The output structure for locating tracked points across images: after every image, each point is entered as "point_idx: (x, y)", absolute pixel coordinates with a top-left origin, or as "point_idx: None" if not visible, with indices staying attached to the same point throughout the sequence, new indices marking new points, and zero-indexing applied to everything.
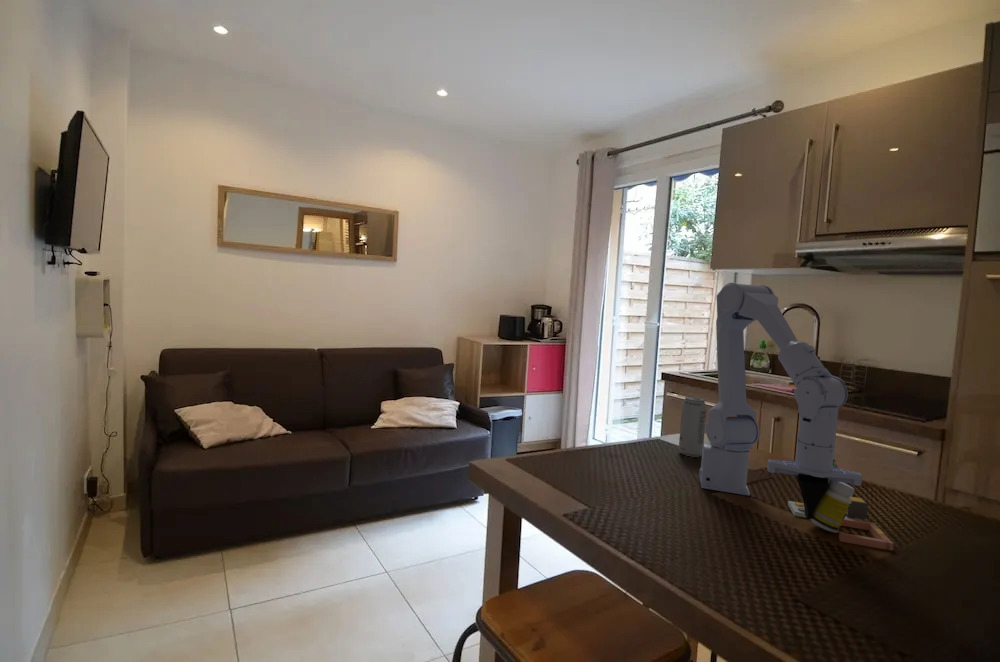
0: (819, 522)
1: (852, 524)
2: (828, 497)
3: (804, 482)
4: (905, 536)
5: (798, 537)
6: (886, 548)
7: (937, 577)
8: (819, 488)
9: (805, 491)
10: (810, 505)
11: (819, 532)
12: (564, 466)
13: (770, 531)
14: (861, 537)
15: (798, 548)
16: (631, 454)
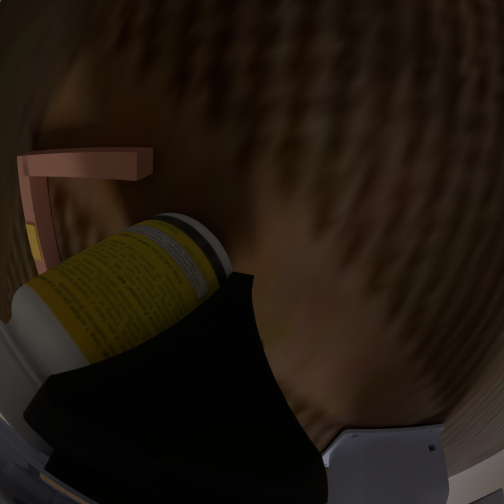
0: (203, 240)
1: None
2: (92, 337)
3: (293, 497)
4: (18, 269)
5: (347, 125)
6: (40, 150)
7: (16, 34)
8: (118, 408)
9: (271, 400)
10: (232, 313)
11: (214, 221)
12: None
13: (450, 168)
14: (74, 161)
15: (386, 10)
16: (447, 470)
